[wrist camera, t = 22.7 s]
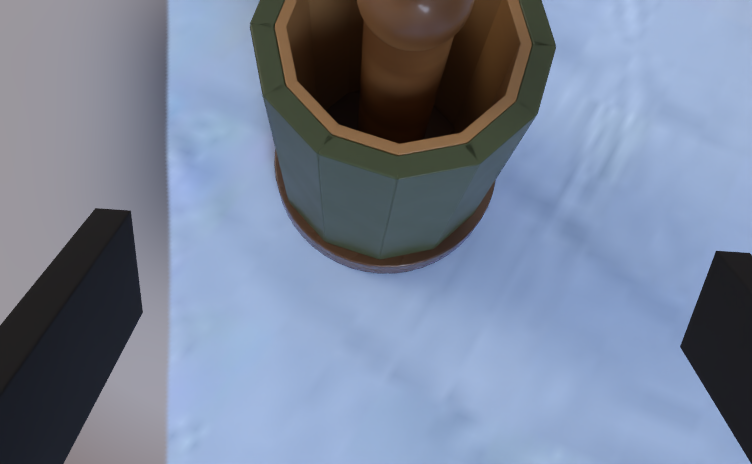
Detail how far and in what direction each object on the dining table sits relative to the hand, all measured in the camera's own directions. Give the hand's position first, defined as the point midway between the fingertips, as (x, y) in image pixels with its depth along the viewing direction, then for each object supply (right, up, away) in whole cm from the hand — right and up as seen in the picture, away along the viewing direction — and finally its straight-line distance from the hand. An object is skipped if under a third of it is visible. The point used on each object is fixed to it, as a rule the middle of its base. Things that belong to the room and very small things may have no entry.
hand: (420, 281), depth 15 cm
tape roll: (-1, +5, +18) cm, 18 cm away
